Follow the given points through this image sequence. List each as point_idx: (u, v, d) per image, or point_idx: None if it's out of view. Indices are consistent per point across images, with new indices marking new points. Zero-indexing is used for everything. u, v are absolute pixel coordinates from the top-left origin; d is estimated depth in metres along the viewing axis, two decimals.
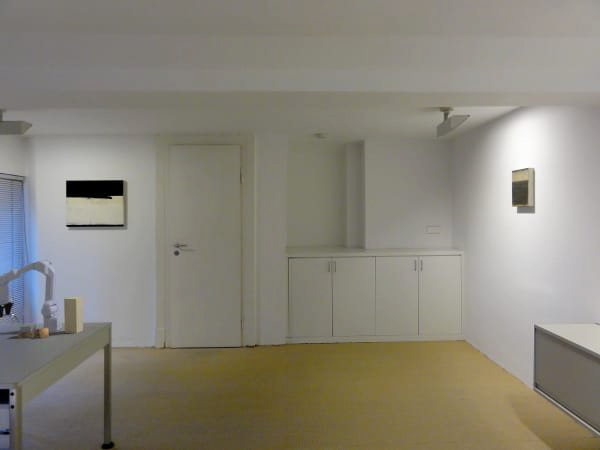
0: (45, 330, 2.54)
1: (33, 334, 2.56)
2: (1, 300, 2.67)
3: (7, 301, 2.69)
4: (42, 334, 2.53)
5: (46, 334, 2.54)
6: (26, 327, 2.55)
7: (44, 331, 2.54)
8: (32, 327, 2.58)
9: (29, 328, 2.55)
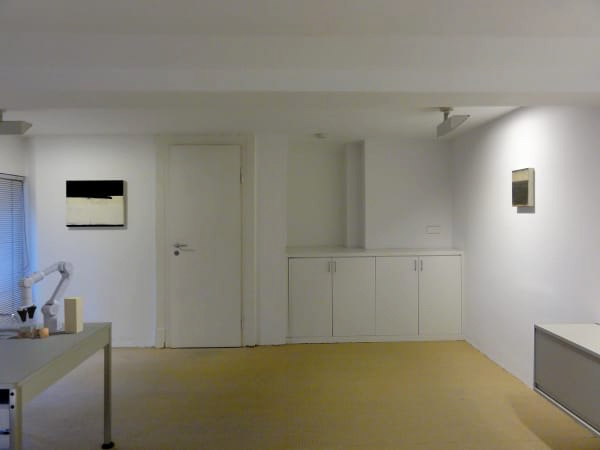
0: (45, 330, 2.54)
1: (33, 334, 2.57)
2: (24, 304, 2.58)
3: (30, 305, 2.60)
4: (42, 334, 2.53)
5: (46, 334, 2.54)
6: (26, 327, 2.55)
7: (44, 331, 2.53)
8: (32, 327, 2.57)
9: (29, 328, 2.55)
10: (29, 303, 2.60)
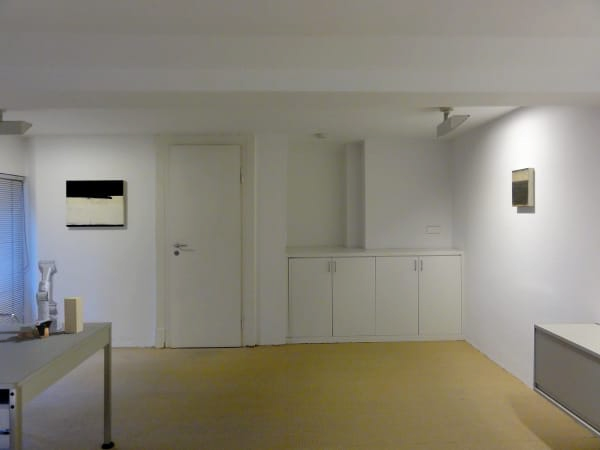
0: (45, 330, 2.54)
1: (33, 334, 2.57)
2: (41, 318, 2.52)
3: (47, 319, 2.55)
4: None
5: (46, 334, 2.54)
6: (26, 327, 2.55)
7: None
8: (32, 327, 2.58)
9: (29, 328, 2.55)
10: (46, 317, 2.54)
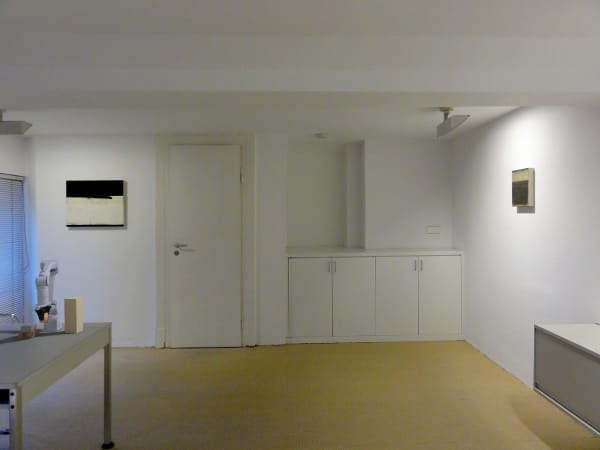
0: (44, 315, 2.54)
1: (34, 334, 2.57)
2: (41, 303, 2.52)
3: (47, 304, 2.54)
4: None
5: (45, 319, 2.54)
6: (26, 327, 2.56)
7: None
8: (32, 327, 2.58)
9: (29, 328, 2.56)
10: (46, 302, 2.54)
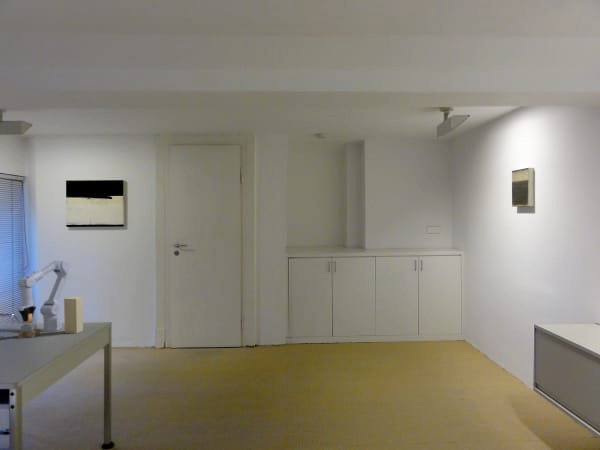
0: (28, 315, 2.57)
1: (34, 334, 2.57)
2: (25, 304, 2.55)
3: (31, 305, 2.57)
4: None
5: (29, 320, 2.57)
6: (27, 327, 2.56)
7: None
8: (33, 327, 2.58)
9: (30, 328, 2.56)
10: (30, 303, 2.57)
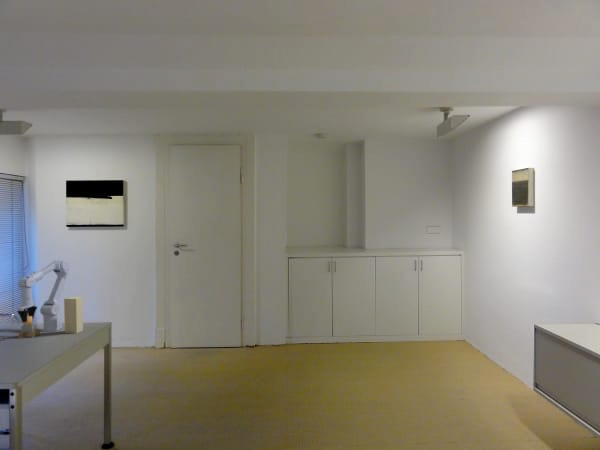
0: (29, 318, 2.57)
1: (34, 334, 2.57)
2: (25, 304, 2.55)
3: (31, 305, 2.57)
4: (26, 322, 2.56)
5: (30, 322, 2.57)
6: (27, 327, 2.56)
7: (28, 319, 2.57)
8: (33, 327, 2.58)
9: (30, 328, 2.56)
10: (30, 303, 2.57)
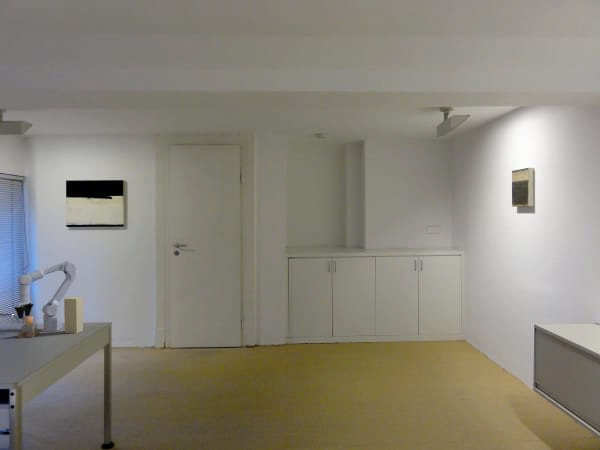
0: (30, 318, 2.57)
1: (34, 334, 2.57)
2: (22, 301, 2.60)
3: (28, 302, 2.62)
4: (27, 322, 2.56)
5: (31, 322, 2.58)
6: (28, 327, 2.56)
7: (29, 319, 2.57)
8: (34, 327, 2.59)
9: (31, 328, 2.56)
10: (27, 300, 2.62)
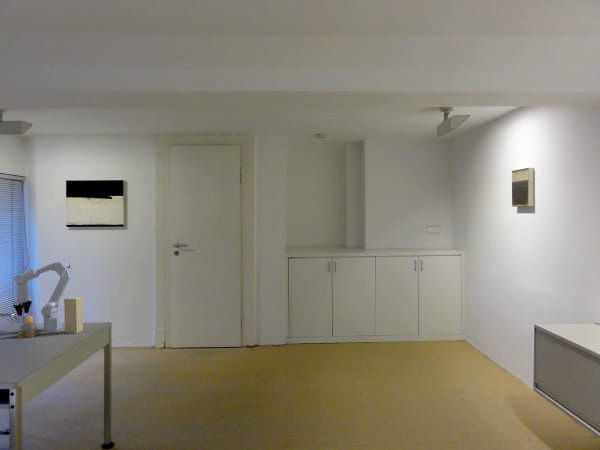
0: (29, 318, 2.58)
1: (33, 334, 2.57)
2: (20, 298, 2.68)
3: (26, 299, 2.71)
4: (26, 322, 2.57)
5: (30, 322, 2.58)
6: (27, 327, 2.56)
7: (28, 319, 2.57)
8: (33, 327, 2.59)
9: (30, 328, 2.57)
10: (25, 298, 2.70)
